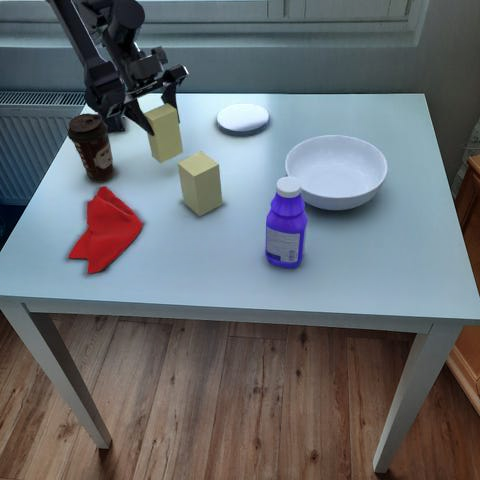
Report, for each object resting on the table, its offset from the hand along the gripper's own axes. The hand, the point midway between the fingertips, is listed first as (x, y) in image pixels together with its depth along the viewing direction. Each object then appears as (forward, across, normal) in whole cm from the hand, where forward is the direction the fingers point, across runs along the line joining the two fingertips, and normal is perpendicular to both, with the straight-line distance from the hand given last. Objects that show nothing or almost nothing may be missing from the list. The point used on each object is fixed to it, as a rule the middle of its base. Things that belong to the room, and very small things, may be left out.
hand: (166, 129), depth 98 cm
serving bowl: (+28, +22, -11) cm, 37 cm away
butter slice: (+4, 0, +6) cm, 7 cm away
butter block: (+17, -1, 0) cm, 17 cm away
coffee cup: (0, -12, +17) cm, 21 cm away
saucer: (+4, +26, +13) cm, 29 cm away
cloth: (+12, -20, +4) cm, 24 cm away
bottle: (+33, +1, -17) cm, 38 cm away
